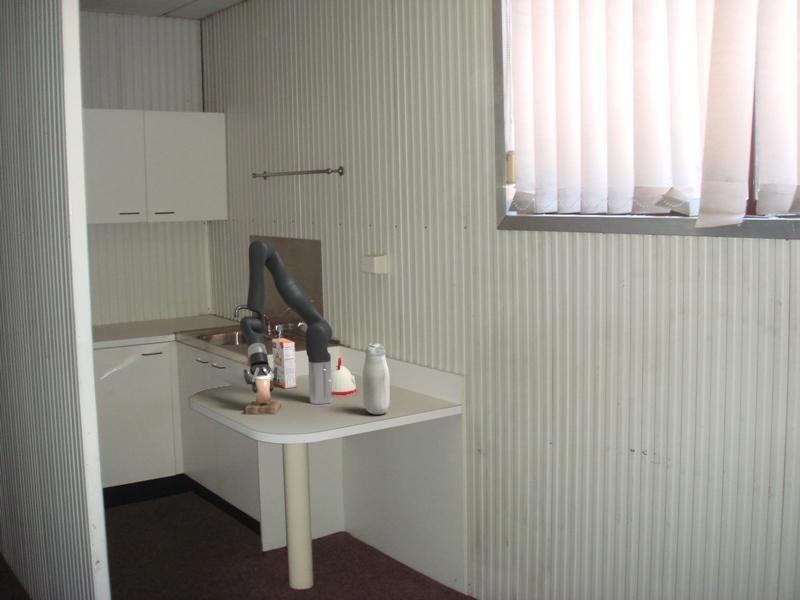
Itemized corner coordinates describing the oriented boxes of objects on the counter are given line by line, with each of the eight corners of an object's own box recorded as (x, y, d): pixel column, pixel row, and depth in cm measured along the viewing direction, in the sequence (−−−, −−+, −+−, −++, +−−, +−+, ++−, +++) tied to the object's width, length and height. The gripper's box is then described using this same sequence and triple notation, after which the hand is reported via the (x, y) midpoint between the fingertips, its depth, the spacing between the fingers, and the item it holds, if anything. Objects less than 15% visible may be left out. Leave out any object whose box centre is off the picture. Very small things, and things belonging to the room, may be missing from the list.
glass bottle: (394, 413, 362) (393, 342, 358) (377, 418, 354) (375, 346, 351) (376, 409, 368) (375, 340, 365) (358, 414, 361) (356, 343, 357)
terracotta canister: (271, 399, 373) (270, 375, 372) (269, 402, 367) (268, 377, 366) (257, 399, 373) (256, 375, 372) (254, 402, 367) (253, 378, 366)
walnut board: (281, 407, 376) (281, 401, 376) (275, 414, 364) (275, 407, 364) (252, 407, 377) (251, 401, 376) (245, 414, 365) (245, 408, 364)
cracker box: (273, 383, 424) (271, 338, 421) (285, 382, 427) (283, 337, 424) (284, 389, 411) (282, 342, 409) (296, 387, 414) (295, 341, 412)
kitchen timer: (357, 388, 409) (356, 355, 408) (355, 395, 396) (354, 360, 394) (325, 389, 410) (325, 355, 408) (322, 395, 396) (321, 361, 394)
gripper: (241, 352, 373) (246, 387, 363) (276, 350, 377) (282, 384, 367) (239, 363, 378) (244, 397, 368) (274, 360, 383) (280, 394, 373)
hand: (263, 390), depth 368 cm, fingers closed on terracotta canister, 5 cm apart
